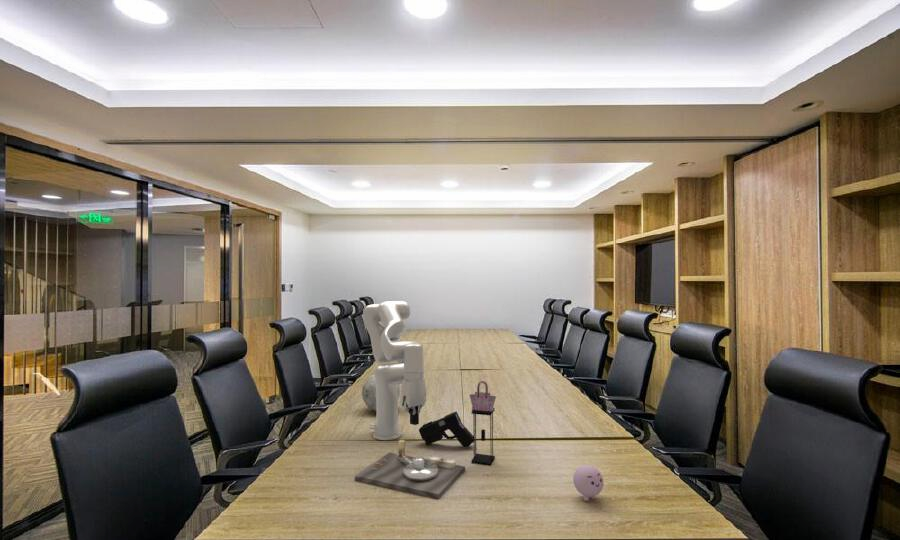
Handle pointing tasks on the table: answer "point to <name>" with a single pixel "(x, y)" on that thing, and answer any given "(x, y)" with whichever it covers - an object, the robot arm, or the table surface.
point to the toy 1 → (449, 422)
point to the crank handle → (416, 466)
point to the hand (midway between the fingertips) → (414, 423)
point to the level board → (392, 476)
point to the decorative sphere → (373, 392)
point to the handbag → (482, 406)
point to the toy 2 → (588, 481)
